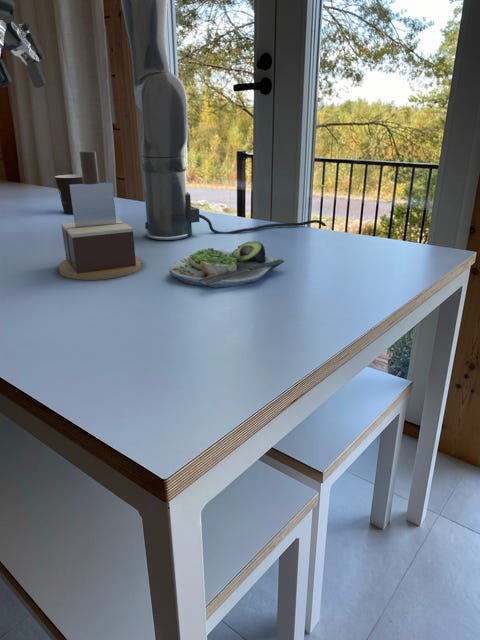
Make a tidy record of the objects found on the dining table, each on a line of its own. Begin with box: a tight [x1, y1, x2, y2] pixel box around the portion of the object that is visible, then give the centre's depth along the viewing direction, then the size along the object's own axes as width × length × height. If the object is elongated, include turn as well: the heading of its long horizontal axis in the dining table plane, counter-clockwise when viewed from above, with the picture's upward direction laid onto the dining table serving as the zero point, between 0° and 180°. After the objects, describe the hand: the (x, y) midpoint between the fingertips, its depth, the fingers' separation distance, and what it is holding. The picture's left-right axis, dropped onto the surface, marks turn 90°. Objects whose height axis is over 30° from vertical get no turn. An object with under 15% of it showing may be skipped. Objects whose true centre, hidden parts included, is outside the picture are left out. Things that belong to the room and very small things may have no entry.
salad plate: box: [168, 240, 285, 289], centre depth 80 cm, size 19×18×5 cm
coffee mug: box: [54, 174, 83, 216], centre depth 135 cm, size 12×9×10 cm
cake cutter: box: [70, 150, 117, 227], centre depth 79 cm, size 7×3×12 cm, turn 118°
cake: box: [58, 217, 142, 281], centre depth 83 cm, size 14×14×8 cm
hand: (24, 86), depth 82 cm, fingers open, 8 cm apart
